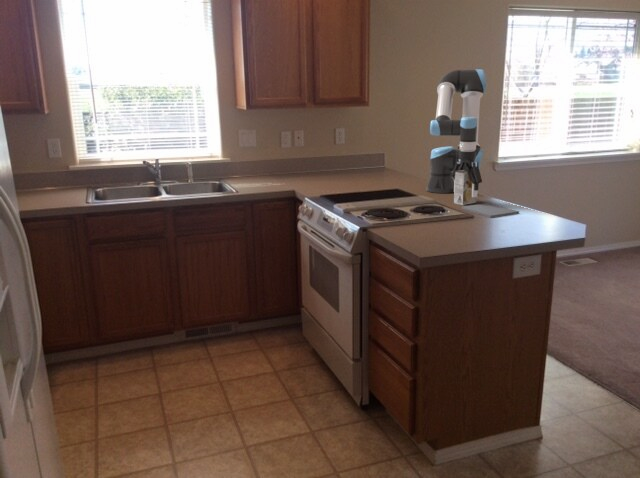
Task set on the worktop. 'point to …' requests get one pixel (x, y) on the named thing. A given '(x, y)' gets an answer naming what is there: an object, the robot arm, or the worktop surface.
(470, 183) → the coffee box
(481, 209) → the mat
